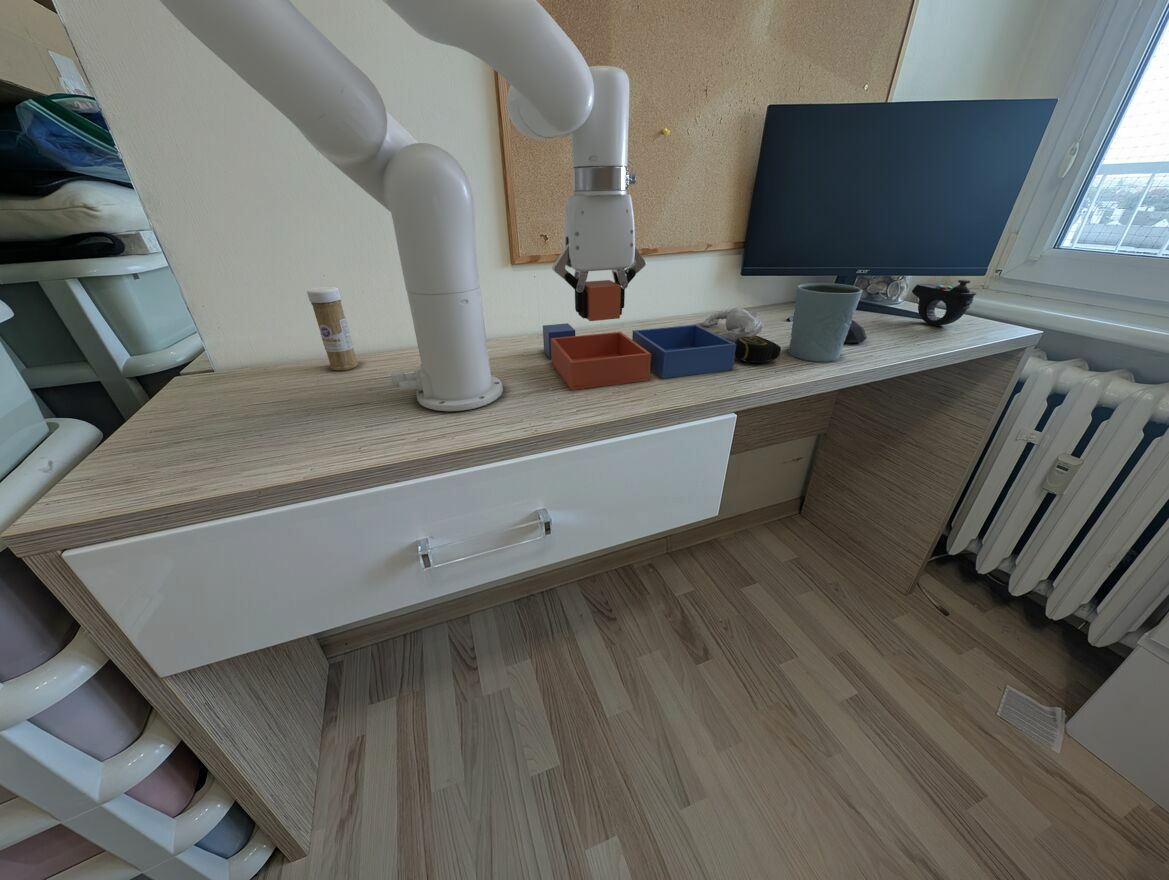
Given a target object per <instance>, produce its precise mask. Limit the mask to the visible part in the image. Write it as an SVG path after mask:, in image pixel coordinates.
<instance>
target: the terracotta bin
mask: <svg viewBox="0 0 1169 880" xmlns="http://www.w3.org/2000/svg"><path fill="white" fill-rule="evenodd" d="M551 358H552V359H551V365H553V367H554V369H556V372H558V373H559V375H560V377H561V378H562V380H563V381H564V382H565V384H566V385H567V387H568V388H569V389H570V390H571V391H576V390H585V389H593V388H601V387H608V386H616V385H623V384H633V383H640V382H647V381H650V374H651V369H650V363H651V353H649V352H648V351H647V350H645V349H644V348H642V347H641V346H640V345H638V344H637V343H636V342H634V341H633V340H632V338H630V337H629V336H627V334H624V333H623V332H622V331H614V332H604V333H592V334H591V333H590V334H583V335H575V336H570V337H560V338H551Z"/></svg>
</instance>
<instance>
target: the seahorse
mask: <svg viewBox="0 0 1169 880" xmlns="http://www.w3.org/2000/svg"><path fill="white" fill-rule="evenodd" d="M758 316H759V313H758V312H756V311H747V309H744V308H740V307H734V308H732V309H731V310H729V309H728V310H722V311H721V312H716V313H714V314H710V316H709V317H707V318H706V319H705V320H704V321H703V322H702V325H703V326H704V327H713V326H714V325H715V326H717V325H718V323H719V321H720V320H725V327H726V330H725V331H723V332H718V333H717V335H718V336H720V337H722V338H725V339H727V340H729V341H731V342H733V343H735V342H736V340H737V339H738V338H739V337H742V336H758V334H759V333H760V332H762V331H763V329H764V327H765V326H764V324H763V322H762V320H761V319H760V318H758Z"/></svg>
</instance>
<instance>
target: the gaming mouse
mask: <svg viewBox="0 0 1169 880" xmlns="http://www.w3.org/2000/svg"><path fill="white" fill-rule="evenodd" d="M867 339H868V337H867V333H866V330H865V328H864V327H863V326H862V325H860V324H859V323H858V322H856V321H855V320H853V319H852V322H851V325H850V327H849V330H848V333H847V336H846V339H845V341H844V343H849V344H854V343H862V342H864V341H866V340H867Z"/></svg>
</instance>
